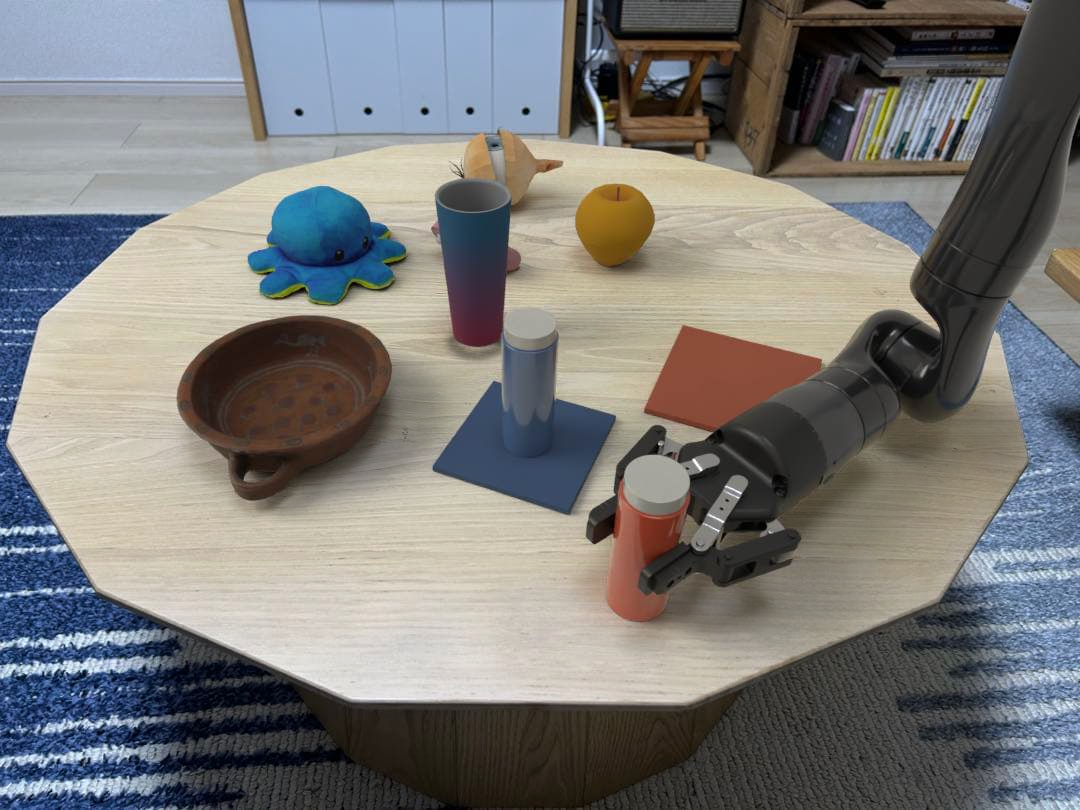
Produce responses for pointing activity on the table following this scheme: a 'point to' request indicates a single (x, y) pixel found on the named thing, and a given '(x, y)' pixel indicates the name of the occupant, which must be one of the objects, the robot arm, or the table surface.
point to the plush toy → (324, 247)
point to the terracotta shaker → (645, 531)
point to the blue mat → (530, 479)
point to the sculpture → (503, 162)
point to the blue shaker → (529, 381)
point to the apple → (614, 222)
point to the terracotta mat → (722, 377)
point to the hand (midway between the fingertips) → (616, 557)
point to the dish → (284, 396)
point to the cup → (475, 255)
